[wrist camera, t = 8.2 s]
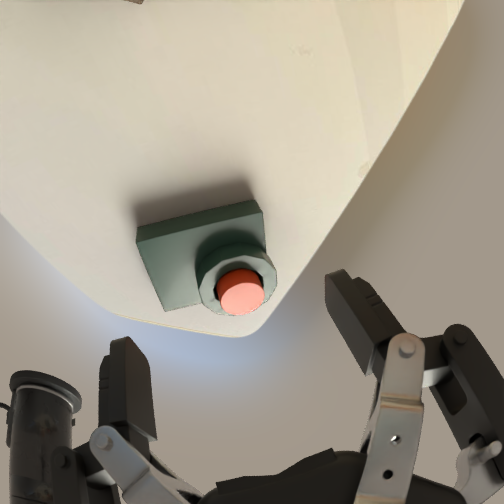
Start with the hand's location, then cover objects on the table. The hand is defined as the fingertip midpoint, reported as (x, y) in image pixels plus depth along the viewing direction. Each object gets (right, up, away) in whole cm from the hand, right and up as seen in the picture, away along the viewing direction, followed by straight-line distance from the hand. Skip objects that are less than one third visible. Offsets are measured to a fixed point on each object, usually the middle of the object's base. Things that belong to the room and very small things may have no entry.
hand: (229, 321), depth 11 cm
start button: (0, 0, +14) cm, 14 cm away
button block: (-3, +3, +15) cm, 16 cm away
